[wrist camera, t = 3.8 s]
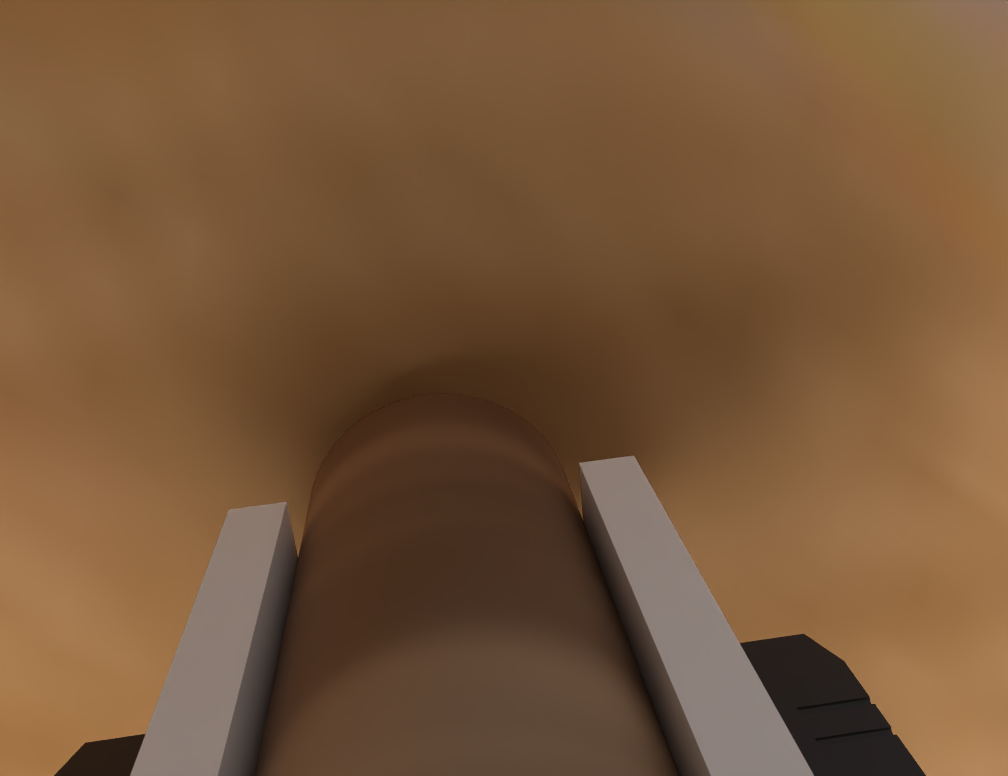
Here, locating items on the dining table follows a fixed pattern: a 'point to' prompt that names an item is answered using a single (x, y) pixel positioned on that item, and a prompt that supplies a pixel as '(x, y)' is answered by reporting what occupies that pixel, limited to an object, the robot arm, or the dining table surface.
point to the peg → (453, 613)
